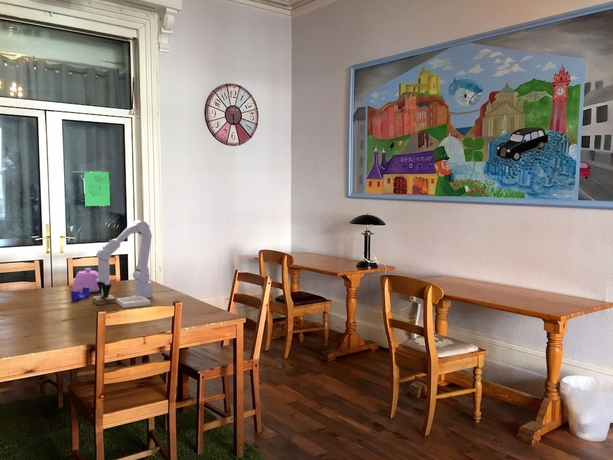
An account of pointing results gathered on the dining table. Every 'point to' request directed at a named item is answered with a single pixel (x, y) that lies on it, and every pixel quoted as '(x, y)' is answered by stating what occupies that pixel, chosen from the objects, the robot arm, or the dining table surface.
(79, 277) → the teapot
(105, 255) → the robot arm
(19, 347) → the dining table surface
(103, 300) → the square hole board
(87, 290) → the cable clip
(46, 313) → the dining table surface
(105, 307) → the dining table surface
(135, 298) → the tray
